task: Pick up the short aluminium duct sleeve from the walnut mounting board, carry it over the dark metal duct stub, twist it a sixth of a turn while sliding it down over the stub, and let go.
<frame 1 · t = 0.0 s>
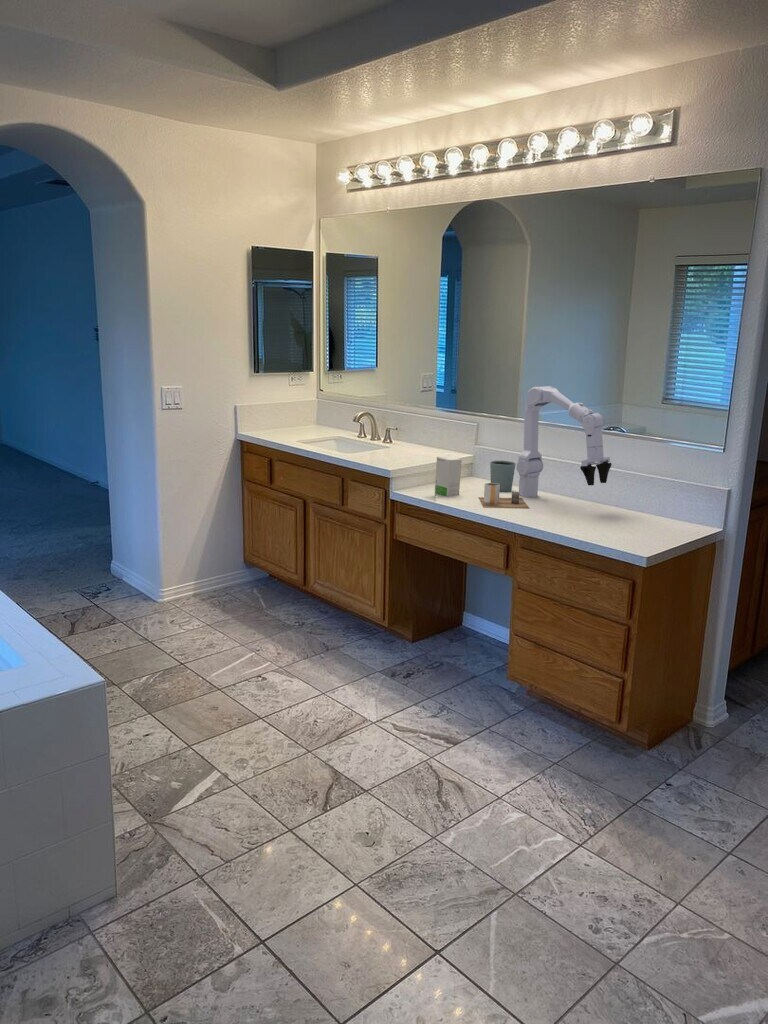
hand: (597, 484, 292), 11 cm above the counter, tool pointing down, fingers open, 7 cm apart
skincare box: (447, 496, 318), on the counter
green plant pot: (501, 491, 329), on the counter
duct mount: (503, 505, 304), on the counter
duct sleeve: (491, 502, 303), point 1 cm above the counter, touching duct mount
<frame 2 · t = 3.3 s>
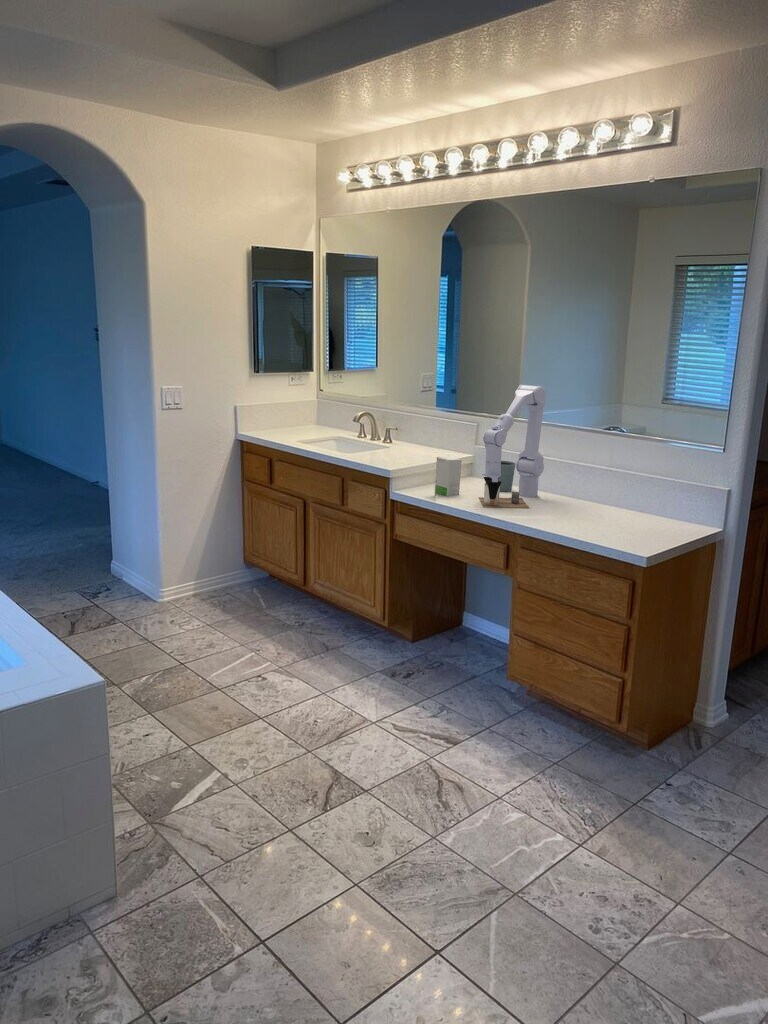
hand: (491, 497, 303), 3 cm above the counter, tool pointing down, fingers closed on duct sleeve, 6 cm apart
duct sleeve: (491, 502, 303), point 1 cm above the counter, touching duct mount, gripper
everything else where it was.
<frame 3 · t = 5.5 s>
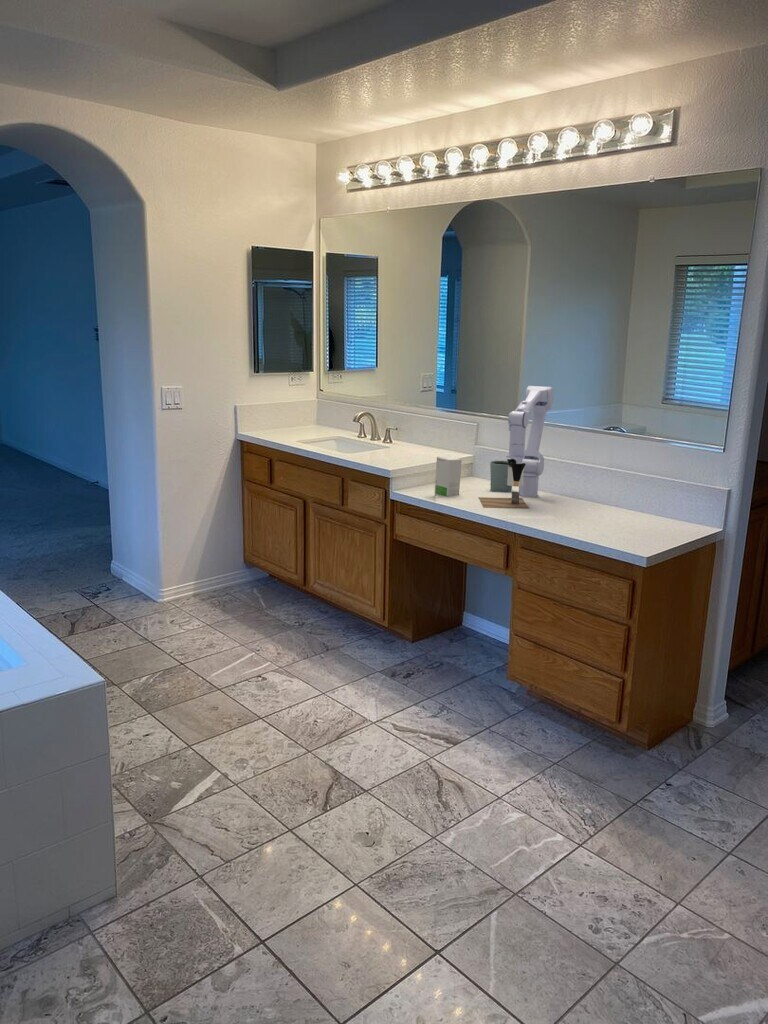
hand: (515, 479, 301), 10 cm above the counter, tool pointing down, fingers closed on duct sleeve, 6 cm apart
duct sleeve: (514, 484, 302), point 8 cm above the counter, touching gripper
everything else where it was.
when the fingers open (4 cm above the counter, at t = 7.7 s): duct sleeve drops 1 cm, resting on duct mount.
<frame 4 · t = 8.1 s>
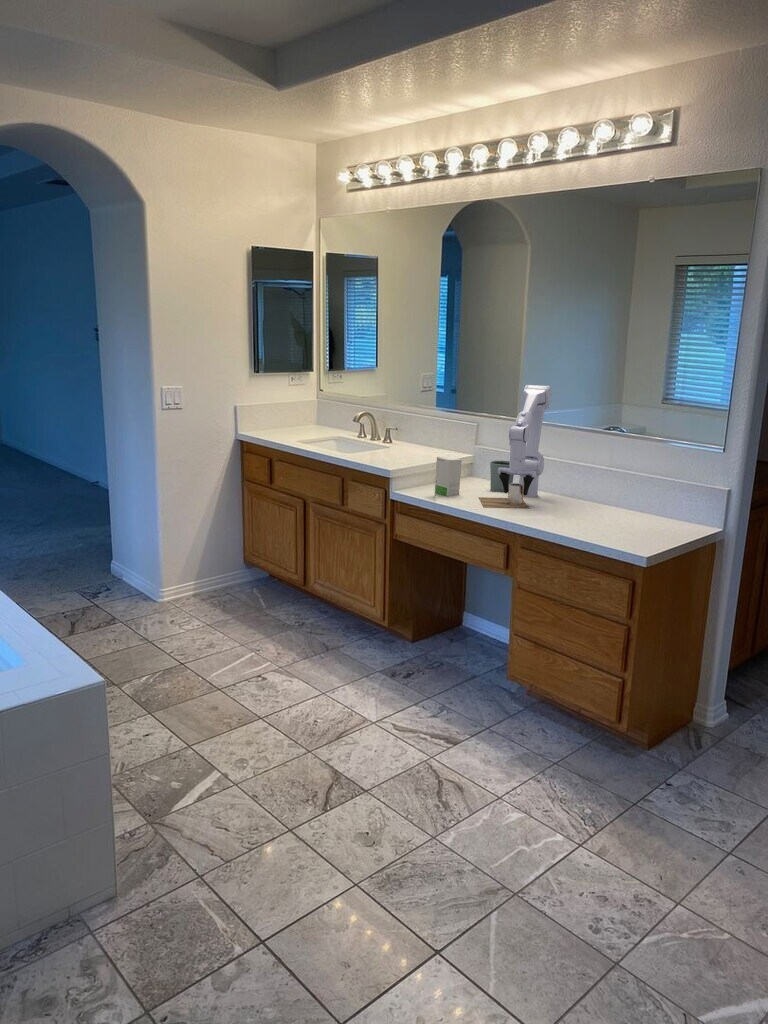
hand: (515, 493, 303), 5 cm above the counter, tool pointing down, fingers open, 7 cm apart
duct sleeve: (515, 502, 303), point 1 cm above the counter, touching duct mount
everything else where it was.
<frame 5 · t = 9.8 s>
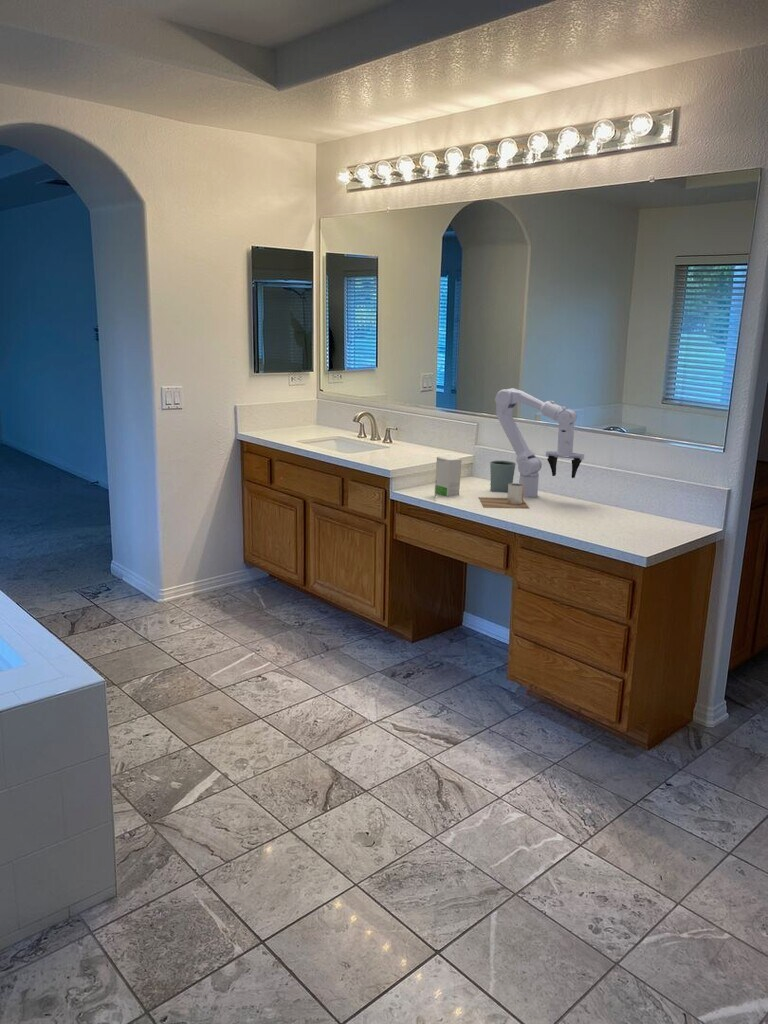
hand: (563, 476, 309), 10 cm above the counter, tool pointing down, fingers open, 7 cm apart
nothing on the counter moved.
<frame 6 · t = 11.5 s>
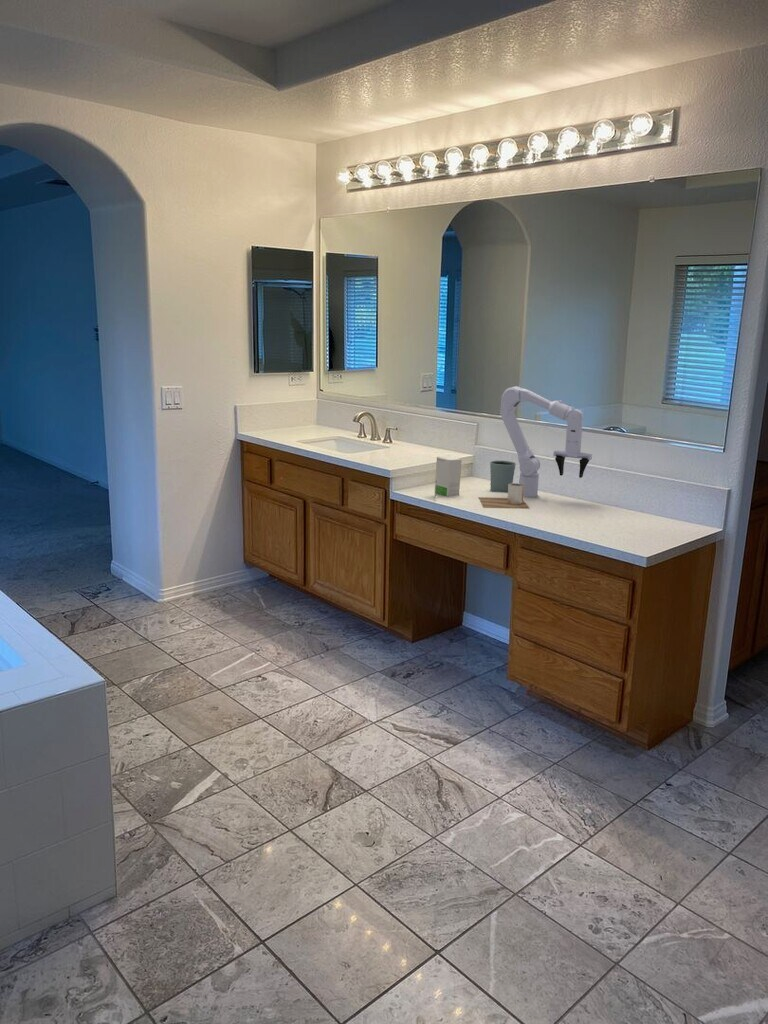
hand: (571, 476, 310), 10 cm above the counter, tool pointing down, fingers open, 7 cm apart
nothing on the counter moved.
at the end: duct sleeve 0.0 cm from the target spot on the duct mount, point 1.0 cm above the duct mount's base; duct sleeve tilted 0°; the gripper is holding nothing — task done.
